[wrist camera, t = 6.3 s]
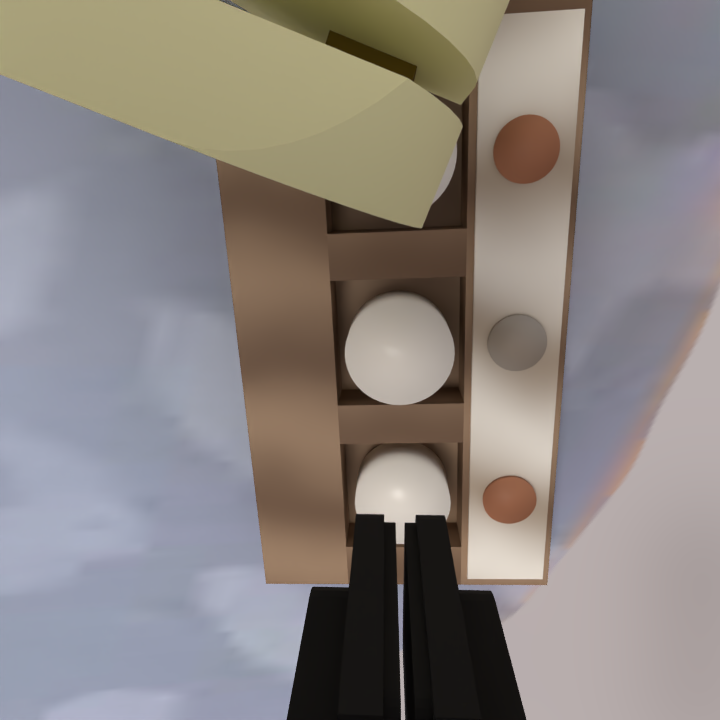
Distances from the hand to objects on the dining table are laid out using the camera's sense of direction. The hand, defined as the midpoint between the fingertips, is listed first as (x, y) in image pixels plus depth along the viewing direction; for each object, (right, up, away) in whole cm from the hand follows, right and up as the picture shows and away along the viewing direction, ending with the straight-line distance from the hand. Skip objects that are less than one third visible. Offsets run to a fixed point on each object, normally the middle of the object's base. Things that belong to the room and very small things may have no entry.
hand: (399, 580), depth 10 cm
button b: (+1, +5, +13) cm, 14 cm away
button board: (+1, +6, +16) cm, 17 cm away
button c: (+1, -2, +16) cm, 17 cm away
